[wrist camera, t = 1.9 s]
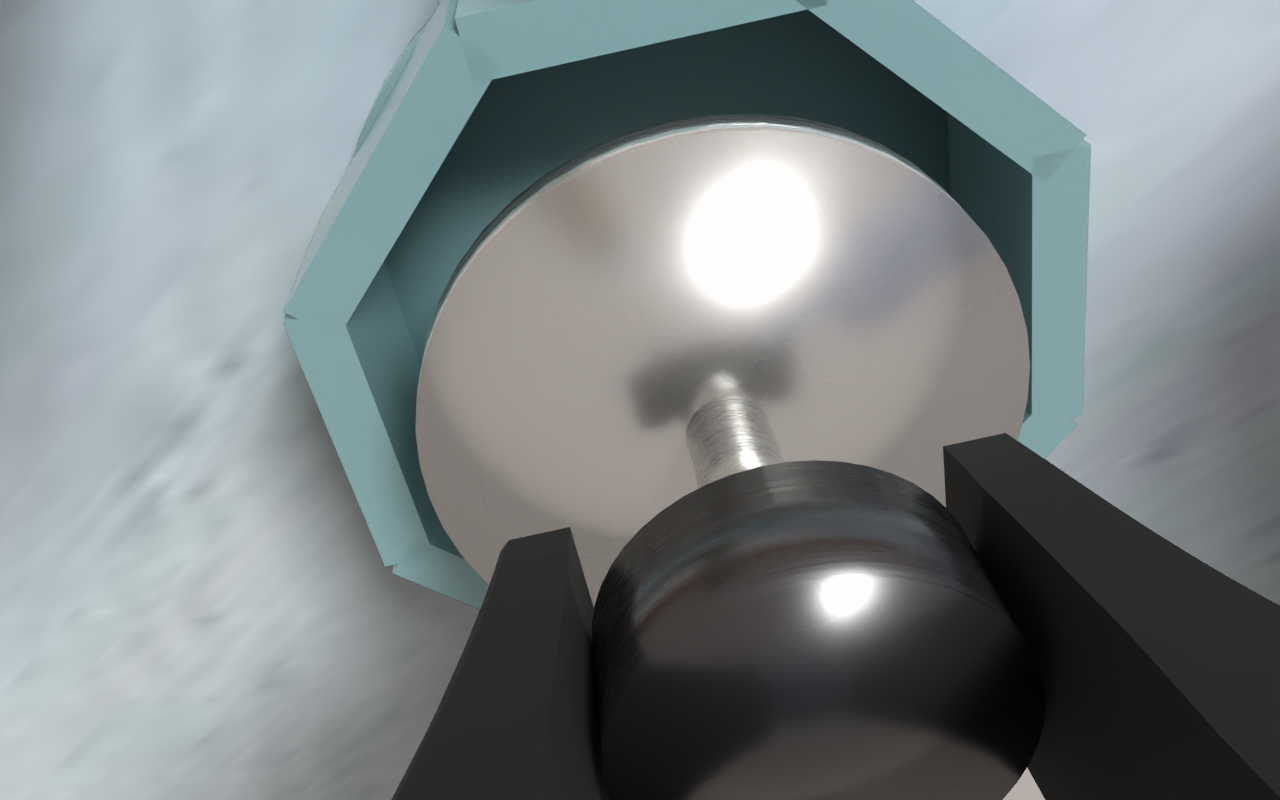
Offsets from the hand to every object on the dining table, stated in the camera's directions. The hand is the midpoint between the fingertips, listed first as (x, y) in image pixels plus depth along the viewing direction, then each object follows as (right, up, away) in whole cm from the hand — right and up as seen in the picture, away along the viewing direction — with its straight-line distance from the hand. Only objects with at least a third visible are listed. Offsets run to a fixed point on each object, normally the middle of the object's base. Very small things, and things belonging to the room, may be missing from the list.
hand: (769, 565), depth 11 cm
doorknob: (0, +2, +3) cm, 3 cm away
